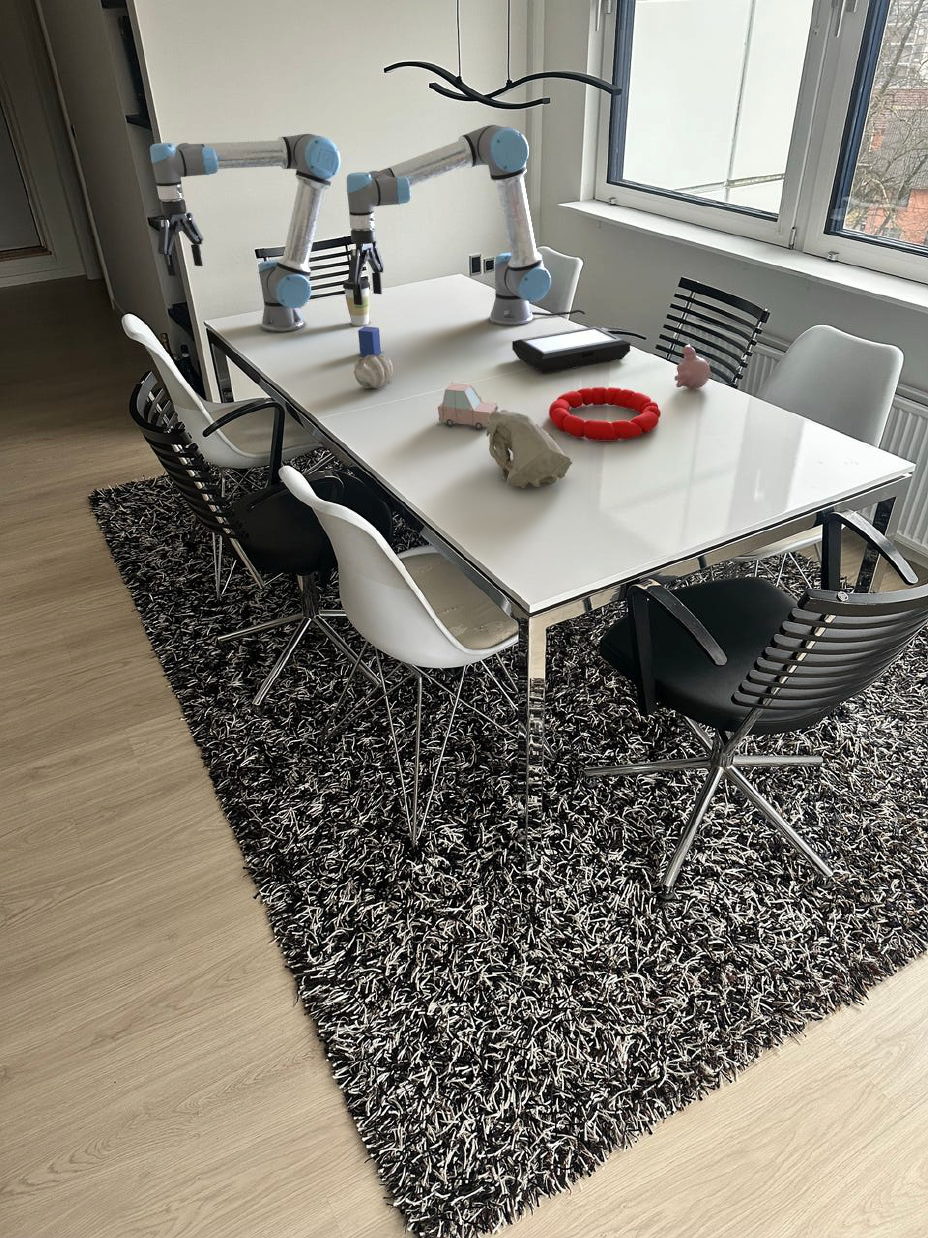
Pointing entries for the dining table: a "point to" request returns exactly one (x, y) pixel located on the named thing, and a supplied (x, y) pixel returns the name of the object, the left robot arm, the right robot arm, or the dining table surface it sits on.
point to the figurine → (692, 370)
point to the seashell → (373, 371)
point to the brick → (369, 341)
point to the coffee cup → (358, 312)
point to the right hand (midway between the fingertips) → (368, 299)
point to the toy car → (465, 406)
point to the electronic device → (570, 349)
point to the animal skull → (525, 450)
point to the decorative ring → (604, 428)
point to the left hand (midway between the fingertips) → (186, 270)
